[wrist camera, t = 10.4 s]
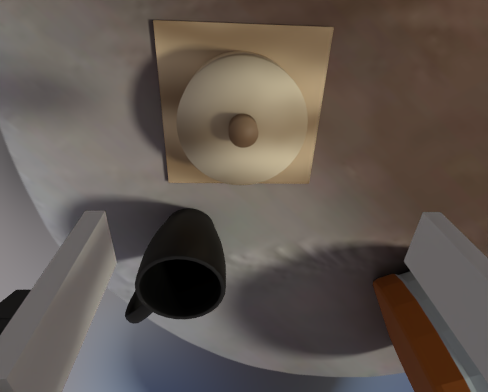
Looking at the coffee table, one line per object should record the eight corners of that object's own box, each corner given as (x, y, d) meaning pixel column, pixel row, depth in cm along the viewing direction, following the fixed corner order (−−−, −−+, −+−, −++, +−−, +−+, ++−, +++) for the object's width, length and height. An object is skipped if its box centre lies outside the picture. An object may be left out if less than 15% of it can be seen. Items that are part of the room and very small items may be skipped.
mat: (154, 19, 26) (153, 20, 26) (332, 26, 27) (333, 27, 27) (169, 180, 34) (168, 182, 33) (308, 181, 35) (308, 183, 34)
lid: (178, 48, 27) (168, 56, 22) (305, 53, 28) (322, 62, 23) (185, 165, 33) (178, 192, 28) (291, 167, 33) (302, 193, 29)
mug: (117, 242, 38) (88, 307, 29) (191, 184, 34) (180, 240, 26) (168, 280, 41) (154, 347, 33) (239, 230, 38) (244, 292, 30)
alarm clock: (456, 334, 50) (602, 540, 31) (394, 352, 52) (496, 559, 33) (442, 235, 40) (651, 453, 20) (365, 261, 41) (490, 487, 22)
